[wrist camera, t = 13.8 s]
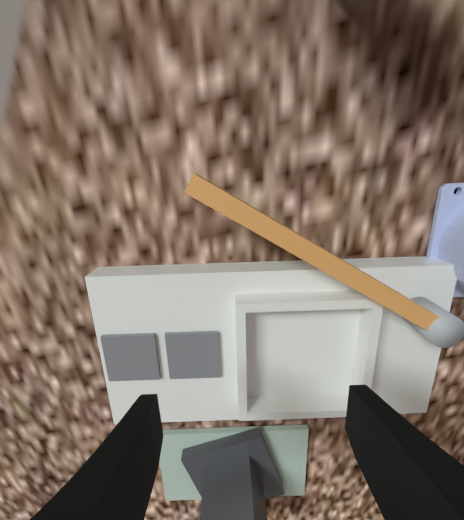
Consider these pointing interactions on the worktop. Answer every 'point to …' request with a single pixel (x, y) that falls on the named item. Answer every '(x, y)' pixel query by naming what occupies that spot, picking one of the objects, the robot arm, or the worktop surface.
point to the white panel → (262, 337)
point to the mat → (277, 437)
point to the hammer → (333, 265)
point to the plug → (233, 476)
